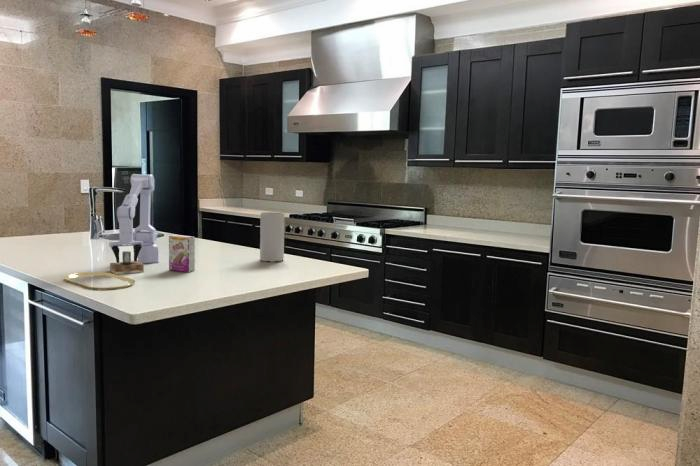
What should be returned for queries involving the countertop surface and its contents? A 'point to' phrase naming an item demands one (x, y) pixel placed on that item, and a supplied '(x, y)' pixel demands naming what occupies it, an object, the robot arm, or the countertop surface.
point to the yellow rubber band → (100, 274)
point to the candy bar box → (181, 253)
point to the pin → (126, 257)
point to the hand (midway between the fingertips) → (126, 261)
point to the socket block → (126, 267)
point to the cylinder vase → (272, 236)
